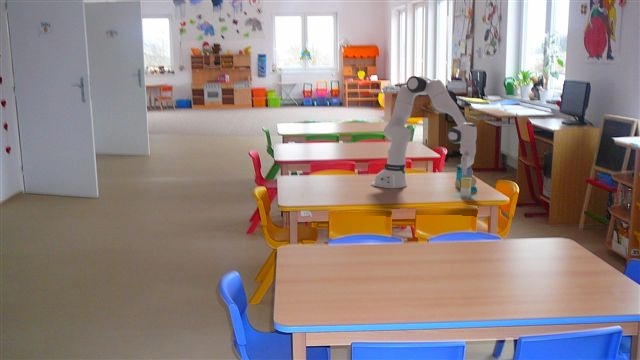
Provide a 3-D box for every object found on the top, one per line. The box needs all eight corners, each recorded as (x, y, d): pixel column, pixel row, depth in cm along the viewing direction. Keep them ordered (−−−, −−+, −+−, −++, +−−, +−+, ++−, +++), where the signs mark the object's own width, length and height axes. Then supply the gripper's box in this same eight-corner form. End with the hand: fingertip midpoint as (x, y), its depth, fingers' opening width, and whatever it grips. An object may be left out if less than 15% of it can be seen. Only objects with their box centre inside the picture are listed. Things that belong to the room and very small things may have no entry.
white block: (460, 195, 389) (460, 187, 388) (462, 194, 394) (462, 185, 393) (468, 196, 387) (469, 188, 386) (470, 195, 392) (471, 186, 391)
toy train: (467, 194, 400) (468, 169, 396) (454, 188, 415) (455, 165, 412) (478, 193, 402) (480, 169, 398) (466, 187, 417) (467, 164, 414)
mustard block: (460, 187, 389) (461, 179, 388) (462, 185, 393) (463, 177, 392) (469, 188, 387) (469, 179, 386) (471, 186, 391) (471, 178, 390)
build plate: (451, 198, 388) (451, 196, 388) (456, 194, 399) (457, 192, 399) (474, 200, 383) (474, 198, 382) (478, 196, 394) (478, 194, 394)
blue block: (463, 177, 386) (463, 168, 385) (462, 175, 391) (462, 167, 390) (471, 177, 386) (472, 169, 385) (470, 175, 391) (471, 167, 390)
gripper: (469, 153, 375) (468, 177, 378) (476, 148, 393) (475, 171, 396) (458, 152, 377) (457, 176, 380) (466, 147, 396) (465, 170, 398)
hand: (466, 173), depth 388 cm, fingers closed on blue block, 6 cm apart
